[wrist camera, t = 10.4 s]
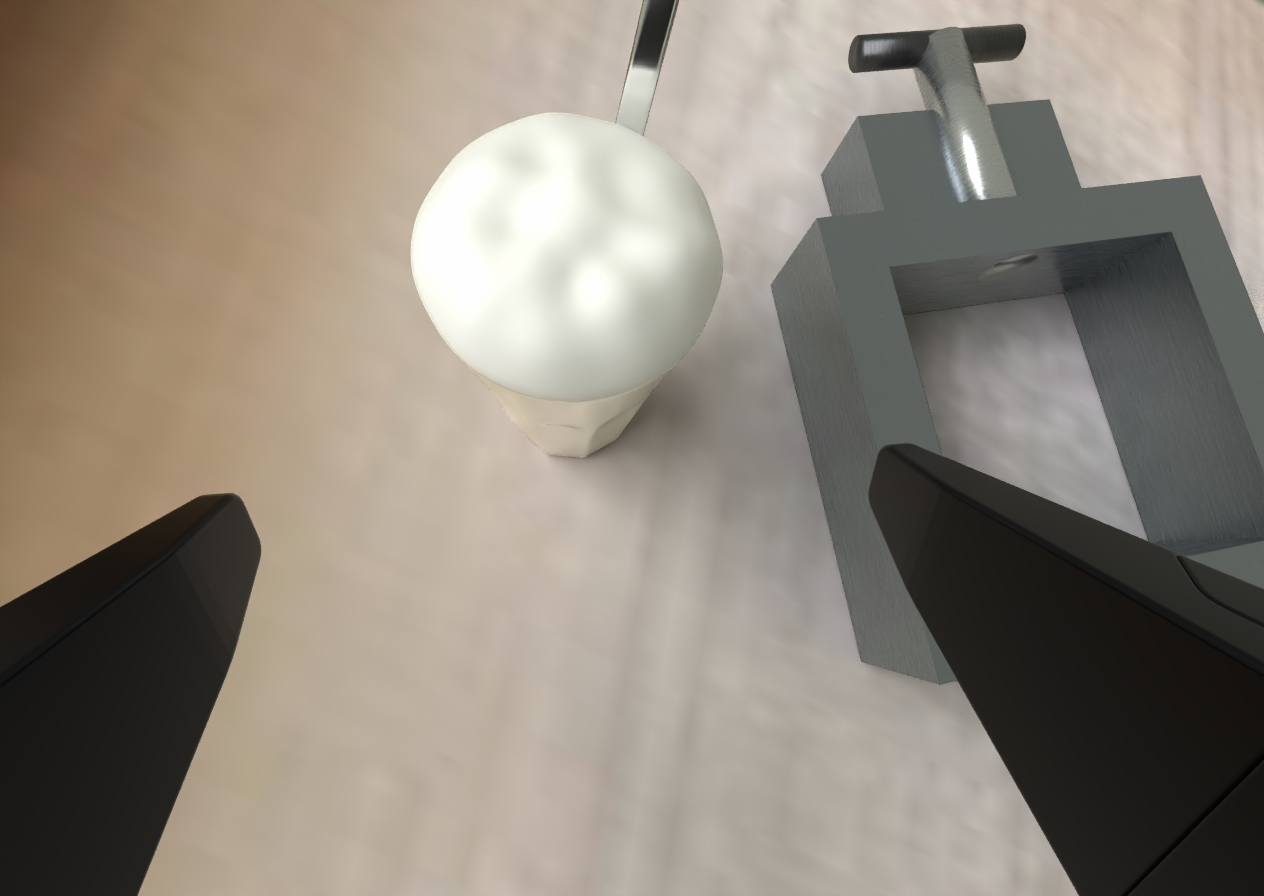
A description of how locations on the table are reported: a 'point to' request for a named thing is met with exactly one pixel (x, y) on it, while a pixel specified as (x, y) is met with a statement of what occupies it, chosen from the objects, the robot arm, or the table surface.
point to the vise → (1006, 270)
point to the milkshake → (571, 261)
